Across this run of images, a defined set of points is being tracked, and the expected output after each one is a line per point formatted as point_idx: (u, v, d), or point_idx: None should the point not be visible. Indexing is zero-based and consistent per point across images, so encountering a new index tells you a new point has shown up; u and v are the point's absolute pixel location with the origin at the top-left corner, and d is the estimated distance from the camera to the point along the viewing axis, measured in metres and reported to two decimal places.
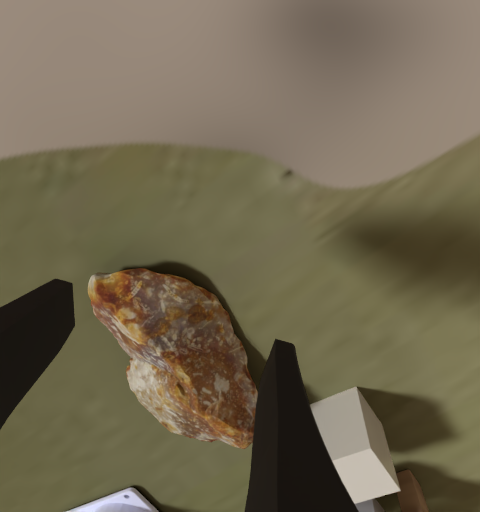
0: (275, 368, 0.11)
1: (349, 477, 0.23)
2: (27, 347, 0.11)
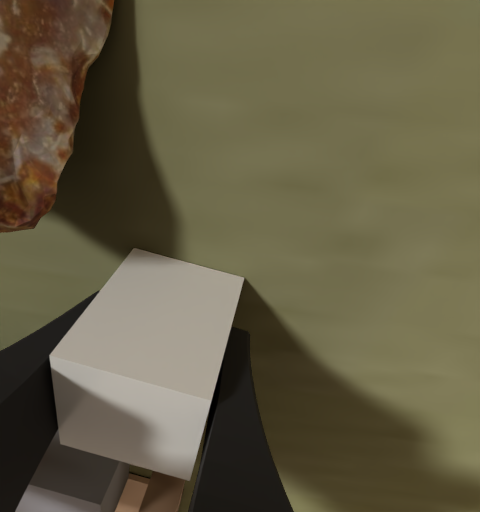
0: (224, 354, 0.11)
1: (119, 416, 0.10)
2: None
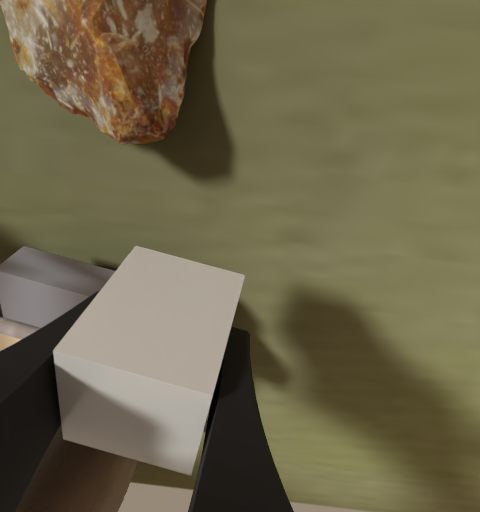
0: (224, 354, 0.11)
1: (122, 411, 0.10)
2: None
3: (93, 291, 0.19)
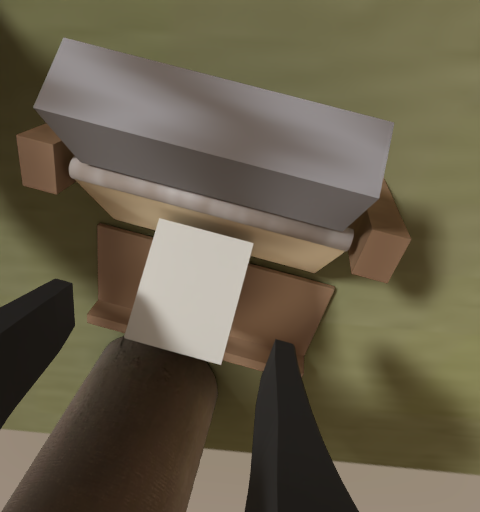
0: (275, 368, 0.11)
1: None
2: (27, 347, 0.11)
3: (213, 141, 0.10)
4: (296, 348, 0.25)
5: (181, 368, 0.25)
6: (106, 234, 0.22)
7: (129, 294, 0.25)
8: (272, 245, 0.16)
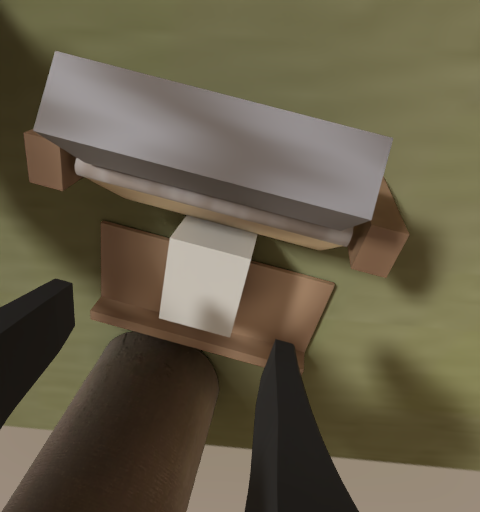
0: (275, 368, 0.11)
1: None
2: (27, 347, 0.11)
3: (208, 162, 0.11)
4: (296, 344, 0.25)
5: (183, 364, 0.26)
6: (109, 231, 0.23)
7: (131, 291, 0.25)
8: (275, 232, 0.17)
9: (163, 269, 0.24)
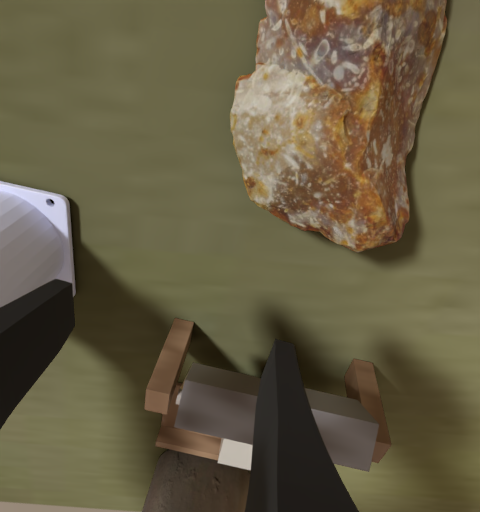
0: (275, 368, 0.11)
1: None
2: (27, 347, 0.11)
3: None
4: None
5: (227, 475, 0.33)
6: None
7: None
8: None
9: None
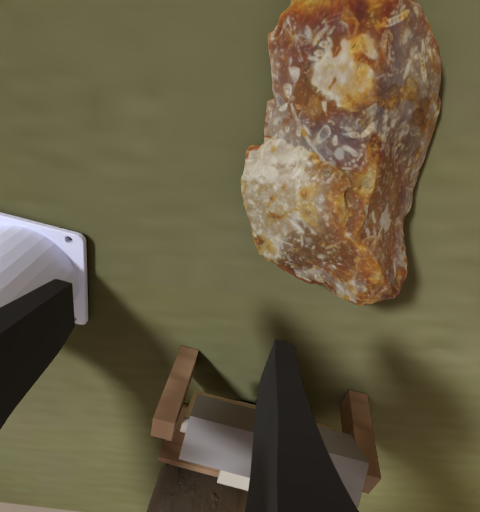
0: (275, 368, 0.11)
1: None
2: (27, 347, 0.11)
3: None
4: None
5: (225, 490, 0.35)
6: None
7: None
8: None
9: None
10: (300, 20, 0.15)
